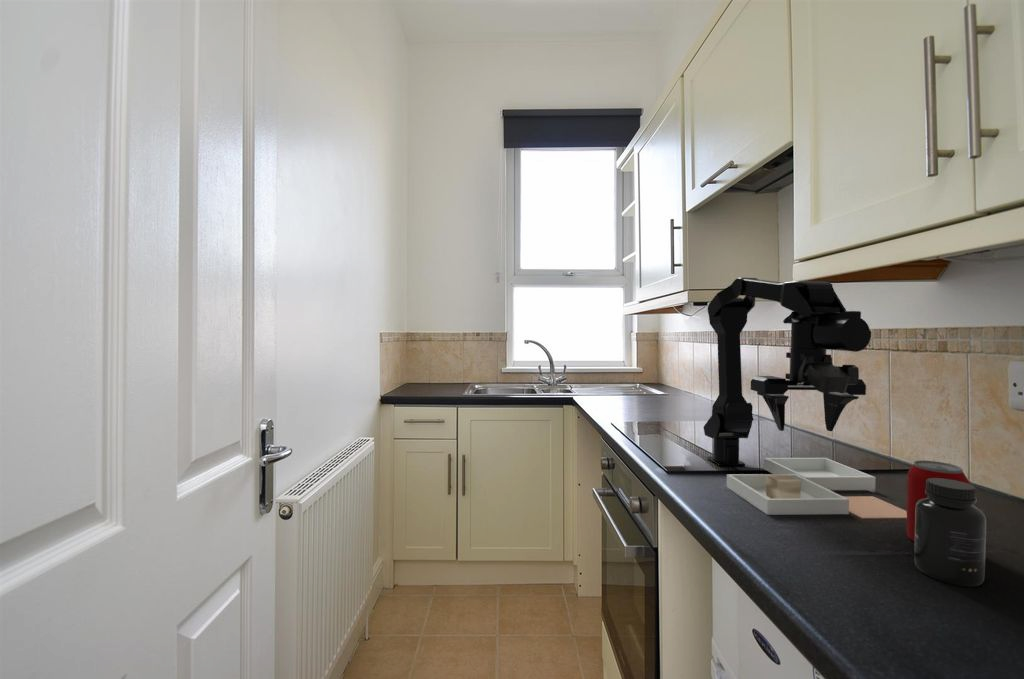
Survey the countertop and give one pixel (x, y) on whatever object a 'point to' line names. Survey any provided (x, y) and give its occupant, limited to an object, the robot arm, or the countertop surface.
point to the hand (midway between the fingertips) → (805, 430)
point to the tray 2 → (822, 473)
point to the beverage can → (918, 485)
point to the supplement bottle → (950, 533)
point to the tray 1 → (810, 502)
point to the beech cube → (782, 487)
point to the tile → (874, 508)
